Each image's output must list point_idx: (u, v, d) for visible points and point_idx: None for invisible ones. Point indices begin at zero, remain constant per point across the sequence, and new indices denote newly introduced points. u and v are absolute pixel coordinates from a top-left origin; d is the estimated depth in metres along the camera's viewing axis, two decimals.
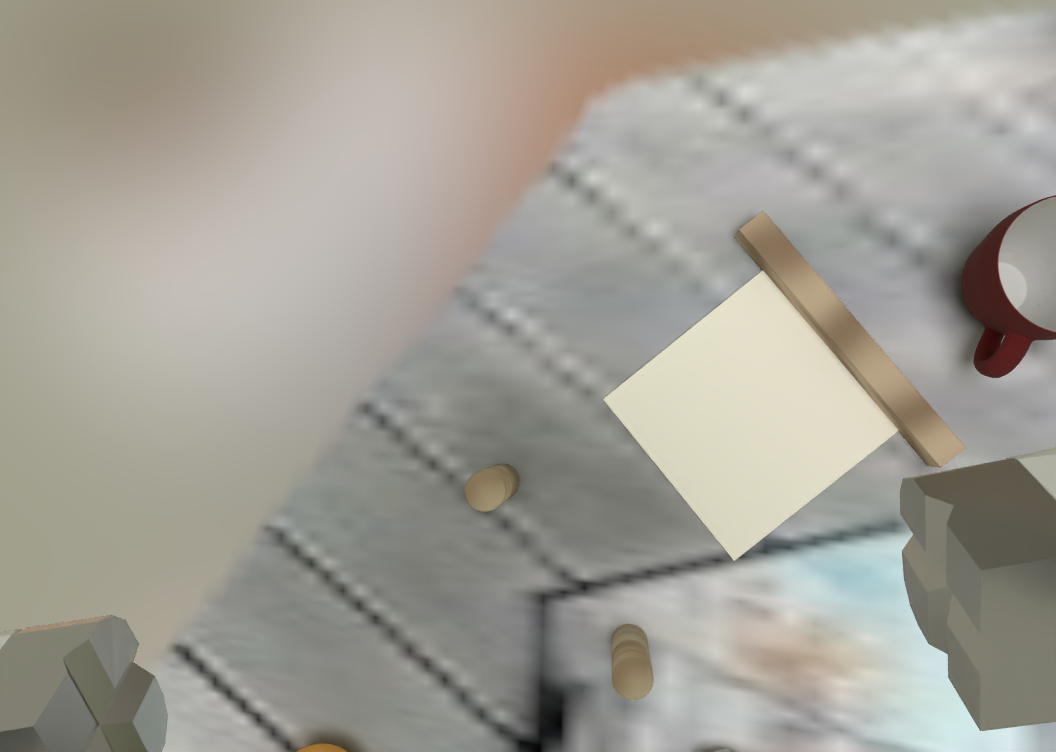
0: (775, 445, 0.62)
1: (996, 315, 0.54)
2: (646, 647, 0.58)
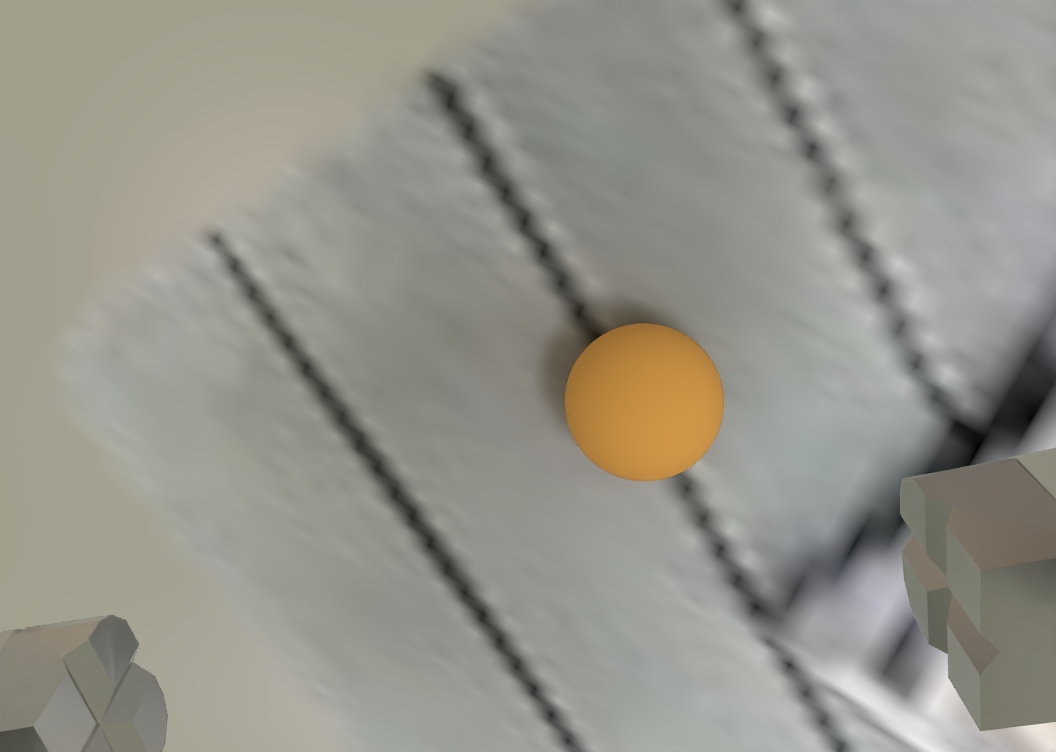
0: None
1: None
2: None
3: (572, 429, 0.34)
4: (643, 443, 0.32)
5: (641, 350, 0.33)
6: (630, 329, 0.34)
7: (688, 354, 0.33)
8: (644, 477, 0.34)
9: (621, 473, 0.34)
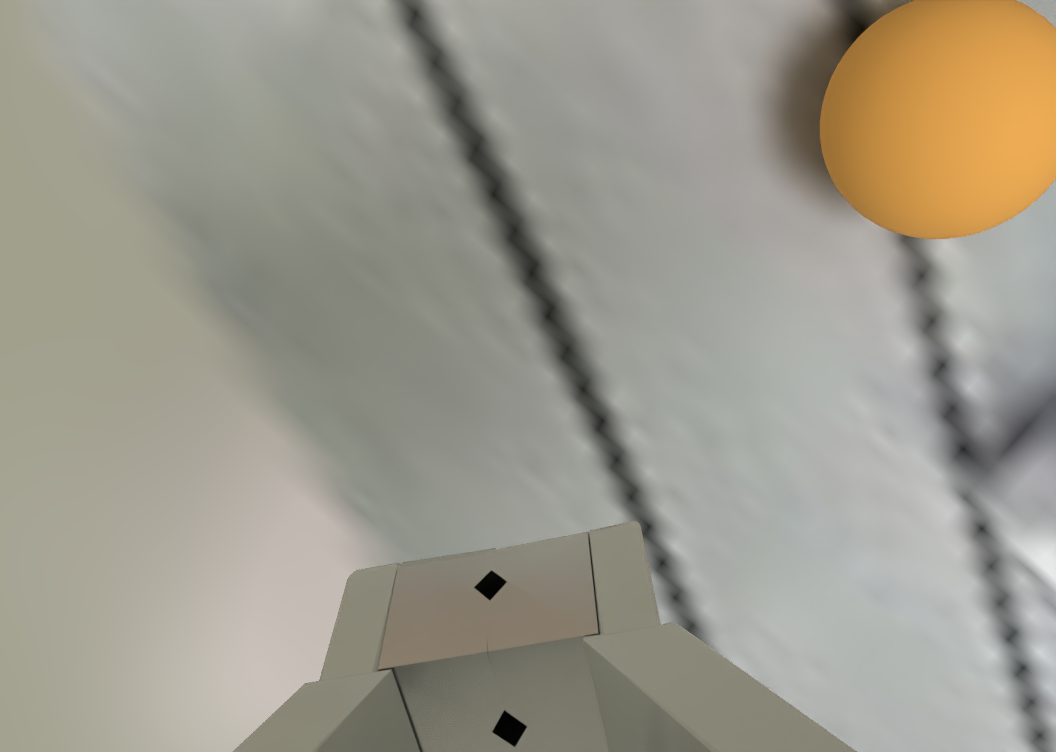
0: None
1: None
2: None
3: (845, 142, 0.22)
4: (981, 162, 0.21)
5: (998, 16, 0.21)
6: None
7: None
8: (945, 226, 0.22)
9: (912, 216, 0.22)
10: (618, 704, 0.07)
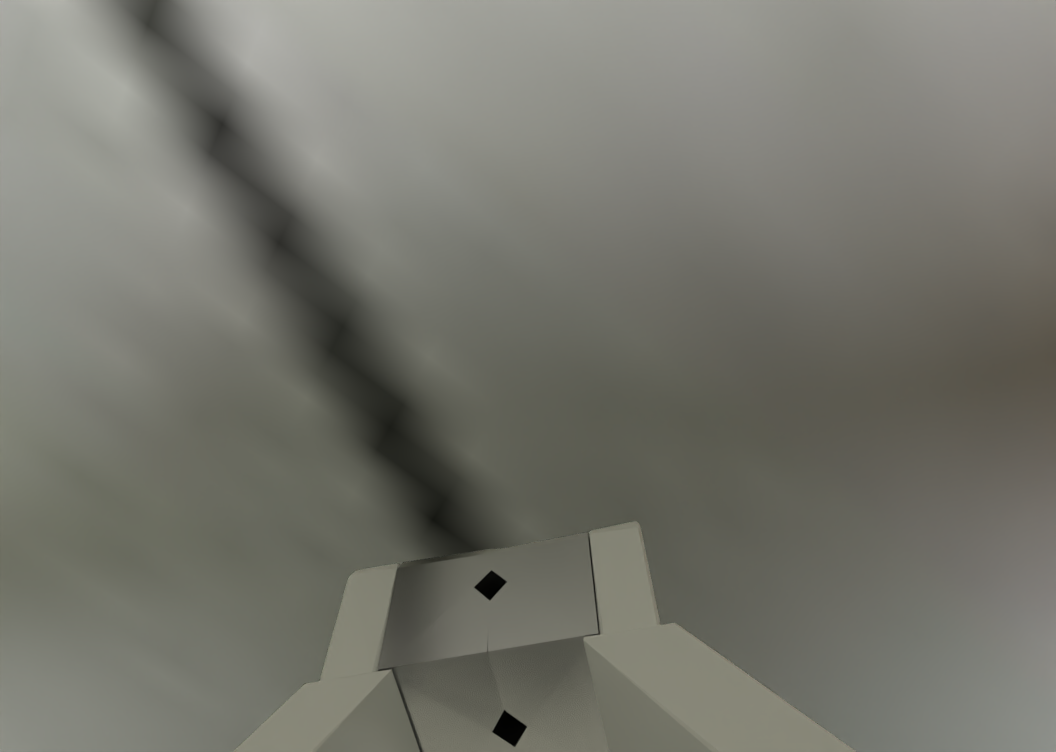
0: None
1: None
2: None
3: None
4: None
5: None
6: None
7: None
8: None
9: None
10: (618, 704, 0.07)
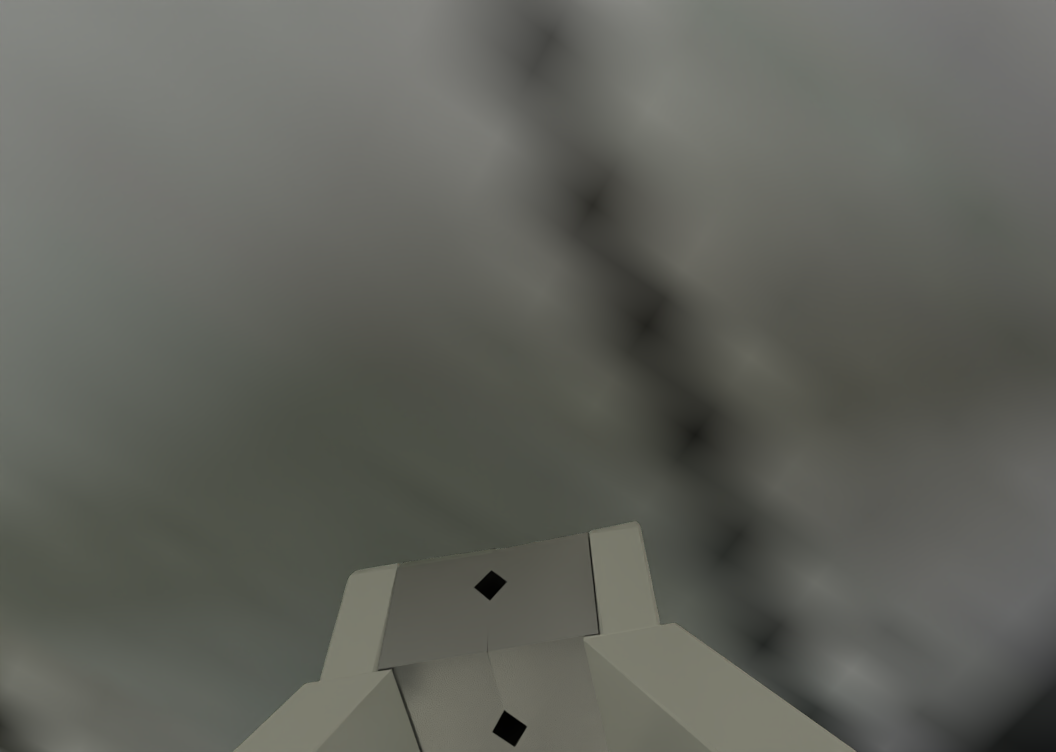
0: None
1: None
2: None
3: None
4: None
5: None
6: None
7: None
8: None
9: None
10: (618, 704, 0.07)
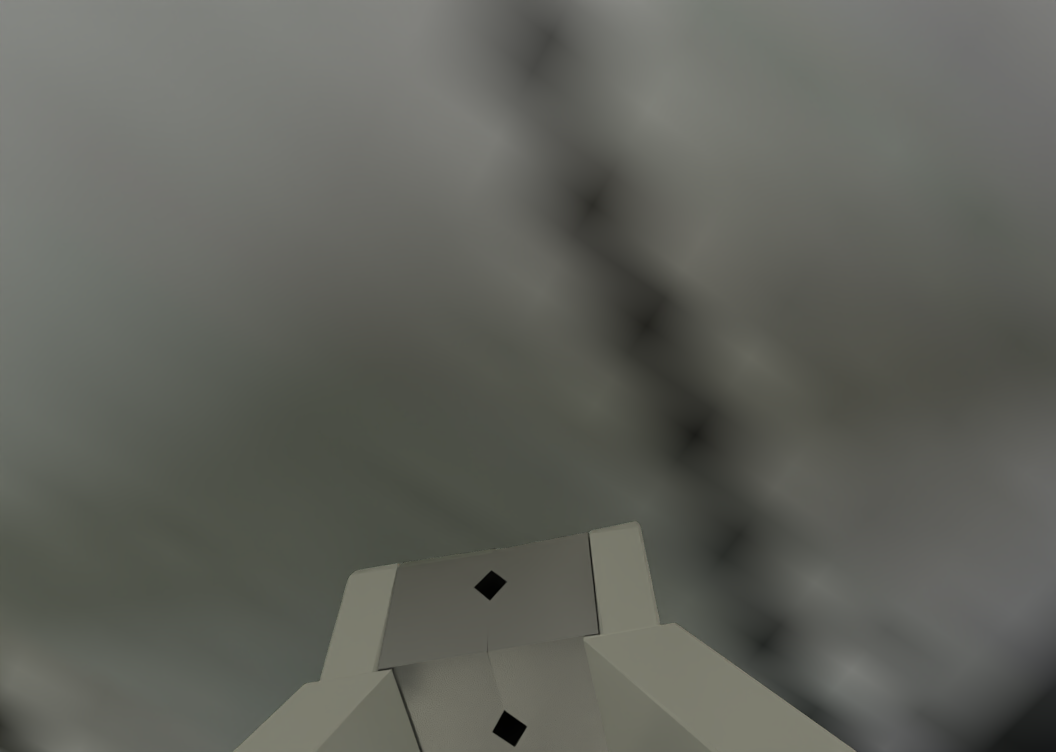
0: None
1: None
2: None
3: None
4: None
5: None
6: None
7: None
8: None
9: None
10: (618, 704, 0.07)
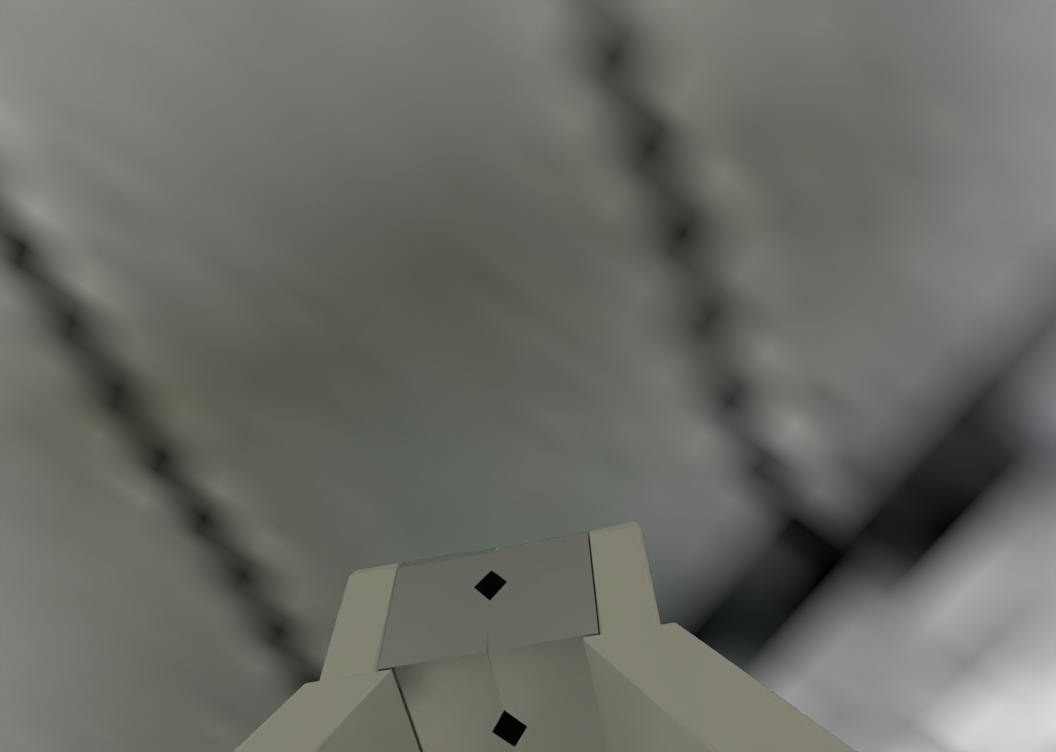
0: None
1: None
2: None
3: None
4: None
5: None
6: None
7: None
8: None
9: None
10: (618, 704, 0.07)
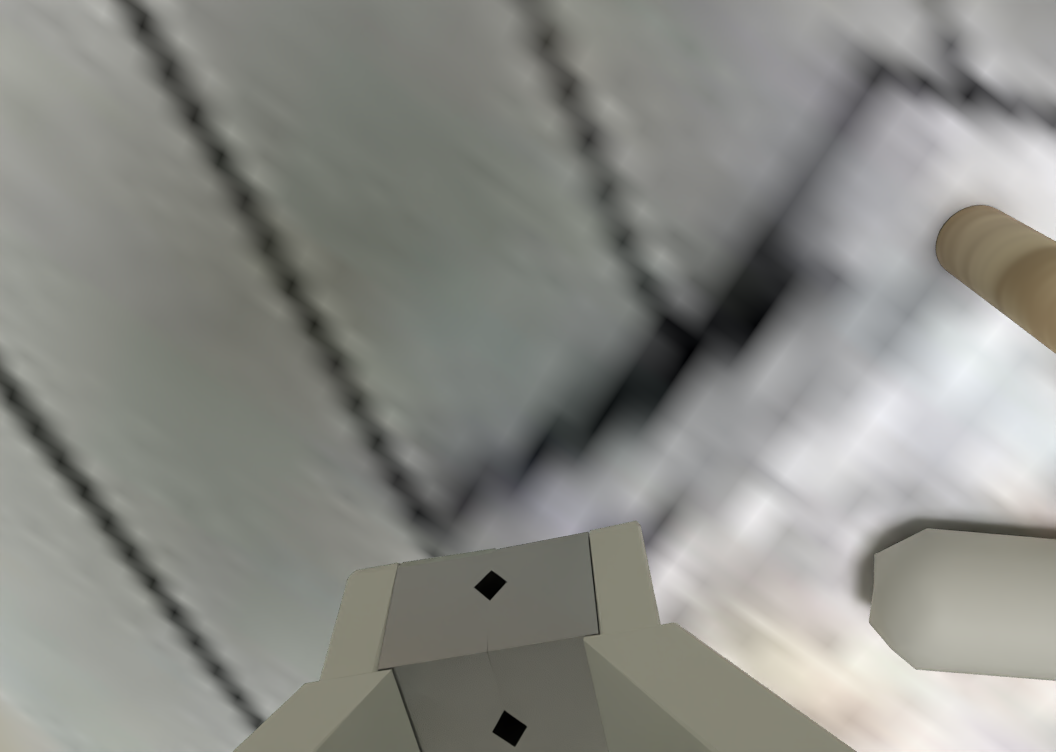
0: None
1: None
2: None
3: None
4: None
5: None
6: None
7: None
8: None
9: None
10: (618, 704, 0.07)
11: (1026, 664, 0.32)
